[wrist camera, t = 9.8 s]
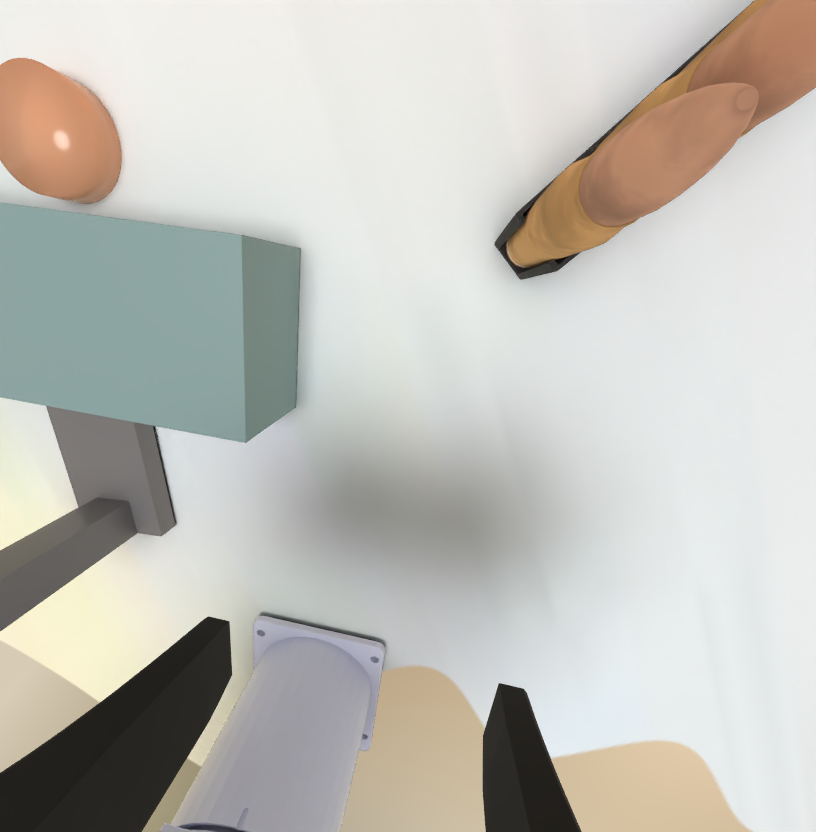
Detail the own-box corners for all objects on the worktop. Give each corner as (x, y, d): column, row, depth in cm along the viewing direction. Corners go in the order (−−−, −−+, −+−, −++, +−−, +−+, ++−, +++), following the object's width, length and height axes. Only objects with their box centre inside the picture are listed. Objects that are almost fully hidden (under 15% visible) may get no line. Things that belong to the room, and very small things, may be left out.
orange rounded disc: (131, 211, 16) (97, 203, 15) (40, 197, 17) (-2, 188, 15) (119, 87, 15) (81, 64, 13) (19, 74, 15) (-29, 51, 14)
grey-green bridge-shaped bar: (295, 407, 18) (245, 442, 14) (-68, 343, 20) (-207, 358, 16) (300, 248, 16) (241, 234, 11) (-114, 192, 17) (-293, 163, 13)
